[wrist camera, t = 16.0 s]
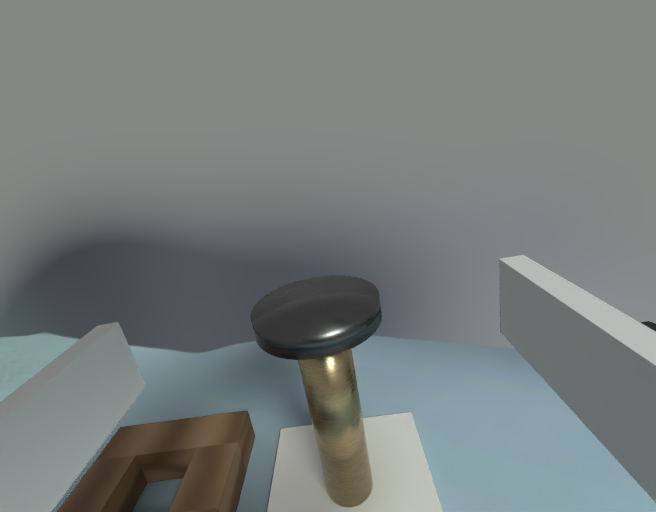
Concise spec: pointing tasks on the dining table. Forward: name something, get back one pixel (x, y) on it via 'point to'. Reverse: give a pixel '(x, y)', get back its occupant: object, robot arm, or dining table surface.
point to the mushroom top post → (326, 367)
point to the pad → (385, 462)
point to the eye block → (170, 465)
